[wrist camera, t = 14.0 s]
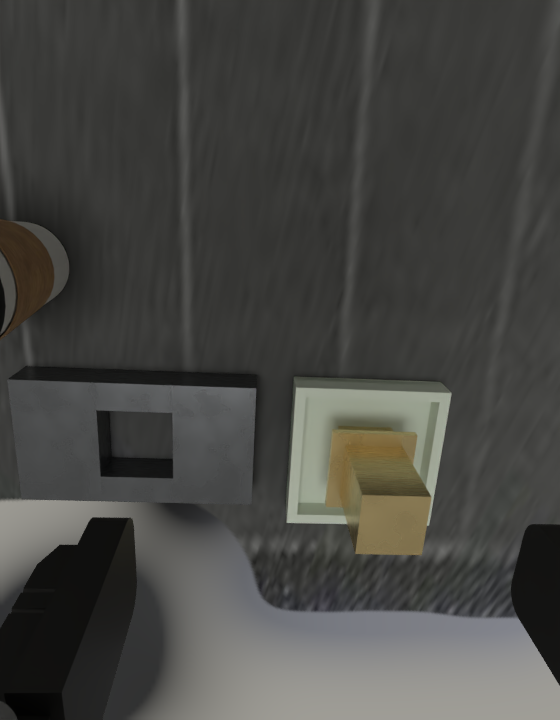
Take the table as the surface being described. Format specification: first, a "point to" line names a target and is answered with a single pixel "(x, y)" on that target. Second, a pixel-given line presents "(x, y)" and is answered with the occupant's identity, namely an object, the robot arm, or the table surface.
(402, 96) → the table surface
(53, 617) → the robot arm
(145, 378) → the grey metal block
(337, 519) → the parts tray
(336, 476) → the brass plug
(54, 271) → the coffee cup
